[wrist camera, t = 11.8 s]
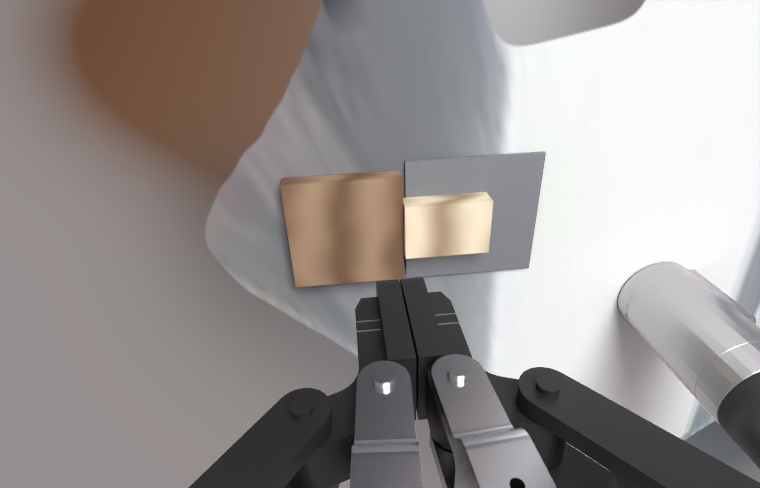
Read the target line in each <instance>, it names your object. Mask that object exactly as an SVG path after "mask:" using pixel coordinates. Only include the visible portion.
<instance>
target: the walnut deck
mask: <svg viewBox="0 0 760 488" xmlns="http://www.w3.org/2000/svg"><path fill="white" fill-rule="evenodd" d="M280 190H281V196H282V203H283V209H284V215H285V222H286V228H287V234H288V241H289V247H290V253H291V260H292V266H293V273H294V279H295V285H296V287H305V286H318V285H330V284H343V283H355V282H368V281H380V280H393V279H404V246H403V177H402V174H401V172H400V170H398V171H383V172H367V173H352V174H337V175H322V176H307V177H292V178H282V180H281V183H280Z"/></svg>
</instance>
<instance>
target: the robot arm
mask: <svg viewBox="0 0 760 488" xmlns="http://www.w3.org/2000/svg"><path fill="white" fill-rule="evenodd" d="M376 292H377V297H371V298H361V300H360V301H359V303H358V305H357V307H356V309H355V313H356V329H357V344H358V360H359V372H358V375H357V377H356V379H355V380H354V382H353V383H352V384H351V385H350V386H348V387H347V388H346V389H344V390H342V391H340V392H338V393H335V394H332V395H330V396H326V395H325V394H324V393H323V392H321V391H319V390H317V389H313V388H302V389H297V390H294V391H292V392H290V393H288V394H286V395H285V396H284V397H282V398H281V399H280V400H279V401H278V402H277V403H276V404H275V405H274V406H273V407H272V408H271V409H270V410H269V411H268V412H267V413H266V414H265V415H264V416H262V418H260V420H258V421H257V422H256V423H255V424H254V425H253V426H252V427H251V428H250V429H249V430H248V431H247V432H246V433H245V434H244V435H243V436H242V437H241V438H240V439H239V440H238V441H237V442H236V443H234V444H233V445H232V446H231V447H230V448H229V449H228V450H227V451H226V452H225V453H224V454H223V455H222V456H221V457H220V458H219V459H218V460H217V461H216V462H215V463H214V464H213V465H212V466H211V467H210V468H209V469H208V470H207V471H206V472H204V473H203V474H202V475H201V476H200V477H199V478H198V479H197V480H196V481H195V482H194V483H193V484H192V485H191V486H190V487H189V488H338V487H339V484H340V483H341V482H343V481H346V480H348V479H350V488H423V482H422V471H421V462H420V451H419V444H418V442H417V439H416V429H415V420H416V410H417V415H418V419H419V420H421V419H428V423H429V427H430V447H431V450H432V453H433V457H434V460H435V464H436V467H437V470H438V473H439V477H440V480H441V484H442V487H443V488H760V483H759V482H757V481H755V480H753V479H752V478H750V477H748V476H746V475H744V474H743V473H741V472H739V471H737V470H735V469H734V468H732V467H730V466H728V465H726V464H725V463H723V462H721V461H719V460H717V459H716V458H714V457H712V456H710V455H708V454H707V453H705V452H703V451H701V450H699V449H698V448H696V447H694V446H692V445H690V444H688V443H687V442H685V441H683V440H681V439H680V438H678V437H676V436H674V435H672V434H671V433H669V432H667V431H665V430H663V429H662V428H660V427H658V426H656V425H654V424H653V423H651V422H649V421H647V420H645V419H644V418H642V417H640V416H638V415H636V414H635V413H633V412H631V411H629V410H627V409H626V408H624V407H622V406H620V405H618V404H617V403H615V402H613V401H611V400H609V399H608V398H606V397H604V396H602V395H600V394H599V393H597V392H595V391H593V390H591V389H590V388H588V387H586V386H584V385H582V384H581V383H579V382H577V381H575V380H573V379H572V378H570V377H568V376H566V375H564V374H563V373H561V372H559V371H556V370H554V369H550V368H544V367H536V368H531V369H528V370H526V371H525V372H523V373H522V375H521V376H520V378H519V380H518V379H512V378H506V377H500V376H496V375H493V374H490V373H488V372H486V371H485V370H484V369H483V367H482V365H481V364H480V363H479V362H477V361H476V360H475V359H473V358H472V356H471V353H470V351H469V348H468V345H467V343H466V340H465V337H464V335H463V332H462V329H461V327H460V324H459V322H458V319H457V316H456V314H455V311H454V308H453V305H452V303H451V301H450V300H449V299H448V298H447V297H446V296H445V295H444V294H443V293H442V292H430V293H428V292H427V288H426V285H425V282H424V279H423V277H422V278H410V279H400V282H399V279H398V280H386V281H376ZM618 308H619V310H620V312H621V314H622V315H623V316H624V317H625V318H626V319H627V321H628V322H629V323H630V324H631V325H632V326H633V327H634V329H635V330H636V331H637V332H638V333H639V334H640V336H641V337H642V338H643V339H644V340H645V341H646V342H647V344H648V345H649V346H650V347H651V348H652V349H653V350H654V351H655V353H656V354H657V355H658V356H659V357H660V358H661V359H662V360H663V362H664V363H665V364H666V365H667V366H668V367H669V368H670V370H671V371H672V372H673V373H674V374H675V375H676V376H677V377H678V379H679V380H680V381H681V382H682V383H683V384H684V385H685V386H686V388H687V389H688V390H689V391H690V392H691V393H692V394H693V395H694V397H695V398H696V399H697V400H698V401H699V402H700V403H701V404H702V405H703V407H704V408H705V409H706V410H707V411H708V412H709V413H710V415H711V416H712V417H713V418H714V419H715V420H716V421H717V422H718V424H719V425H720V426H721V427H722V428H723V429H724V430H725V431H726V432H727V433H728V434H729V436H730V437H731V438H732V439H733V440H734V441H735V442H736V443H737V444H738V445H739V446H740V448H742V450H743V451H744V452H745V453H746V454H747V455H748V456H749V457H750V458H751V459H752V461H753V462H754V463H755V464H756V465H757V466H758V467H759V468H760V328H759V327H758V326H757V325H756V324H755V323H756V318H755V317H754V316H753V315H752V314H751V313H749V312H748V311H747V310H746V309H744V308H743V307H742V306H740V305H739V304H738V303H737V302H735V301H734V300H733V299H731V298H730V297H729V296H728V295H726V294H725V293H724V292H722V291H721V290H720V289H719V288H717V287H716V286H715V285H713V284H712V283H711V282H710V281H708V280H707V279H706V278H704V277H703V276H702V275H701V274H699V273H698V272H697V271H695V270H687V269H685V268H684V267H682V266H681V265H679V264H676V263H670V262H665V263H658V264H654V265H651V266H648V267H646V268H644V269H642V270H640V271H639V272H637V273H636V274H635V275H633V276H632V277H631V278H630V279H629V280H628V281H627V282H626V284H625V285H624V287H623V288H622V290H621V292H620V295H619V298H618ZM566 442H567V443H569V444H570V445H572V446H573V447H575V448H576V449H578V450H579V451H578V450H576V449H575V448H573V447H572V446H570V445H569V444H567V443H566ZM580 451H581V452H582V453H581V452H580ZM583 453H584V454H585V455H584V454H583ZM586 455H587V456H588V457H587V456H586ZM589 457H590V458H591V459H590V458H589ZM592 459H593V460H595V461H596V462H598V463H599V464H601V465H602V466H604V467H605V468H607V469H608V470H609V471H608V470H607V469H605V468H604V467H602V466H601V465H599V464H598V463H596V462H595V461H593V460H592Z"/></svg>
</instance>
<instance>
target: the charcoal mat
mask: <svg viewBox="0 0 760 488" xmlns="http://www.w3.org/2000/svg"><path fill="white" fill-rule="evenodd" d="M545 154H546V153H545V152H530V153H515V154H499V155H484V156H469V157H453V158H438V159H422V160H407V161H405V198H407V197H420V196H434V195H448V194H462V193H476V192H487V194H488V195H489V196H490V198H491V199H492V200H493V211H492V222H491V233H490V244H489V252H487V253H475V254H462V255H450V256H437V257H424V258H412V259H406V278H410V277H422V276H435V275H447V274H460V273H472V272H485V271H497V270H510V269H522V268H529V262H530V255H531V249H532V242H533V235H534V228H535V222H536V215H537V208H538V201H539V195H540V188H541V181H542V175H543V168H544V161H545Z"/></svg>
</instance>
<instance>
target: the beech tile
mask: <svg viewBox="0 0 760 488" xmlns="http://www.w3.org/2000/svg"><path fill="white" fill-rule="evenodd" d="M492 211H493V200H492V199H491V198H490V196H489V195H488V194H487V192H476V193H462V194H448V195H434V196H420V197H407V198H403V246H404V254H405V258H406V259H412V258H424V257H437V256H450V255H462V254H475V253H487V252H489V244H490V233H491V222H492Z"/></svg>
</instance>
